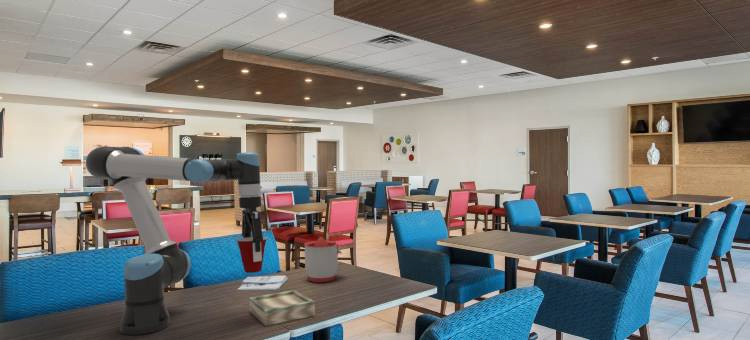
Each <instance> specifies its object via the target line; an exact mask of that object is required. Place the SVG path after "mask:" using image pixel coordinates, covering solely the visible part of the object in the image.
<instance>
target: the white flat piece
mask: <svg viewBox="0 0 750 340" xmlns="http://www.w3.org/2000/svg"><path fill="white" fill-rule="evenodd" d="M287 280H288V277H287V275H262V276H247V277H246V278H245V279H243V280H242V281H241V285H240V287H239V288H237V289H236V290H237V291H279V290H280V288H281V287H282V286H283V284H284V283H286V281H287Z"/></svg>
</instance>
